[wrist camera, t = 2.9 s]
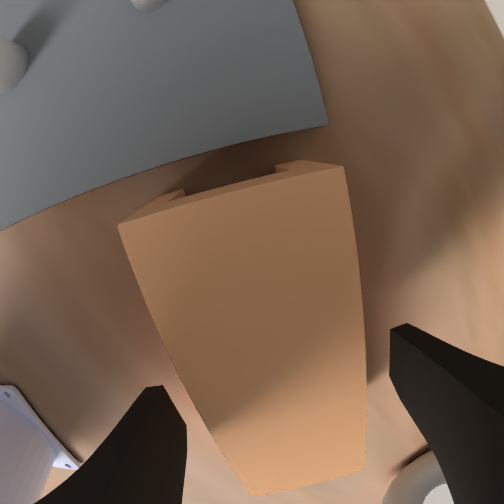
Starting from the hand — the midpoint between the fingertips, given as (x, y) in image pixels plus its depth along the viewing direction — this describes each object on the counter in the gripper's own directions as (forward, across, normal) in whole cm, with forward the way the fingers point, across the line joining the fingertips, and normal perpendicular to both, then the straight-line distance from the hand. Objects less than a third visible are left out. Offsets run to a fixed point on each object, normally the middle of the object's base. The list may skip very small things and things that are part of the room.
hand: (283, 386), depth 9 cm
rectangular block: (+4, 0, 0) cm, 4 cm away
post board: (+4, +4, -13) cm, 14 cm away
